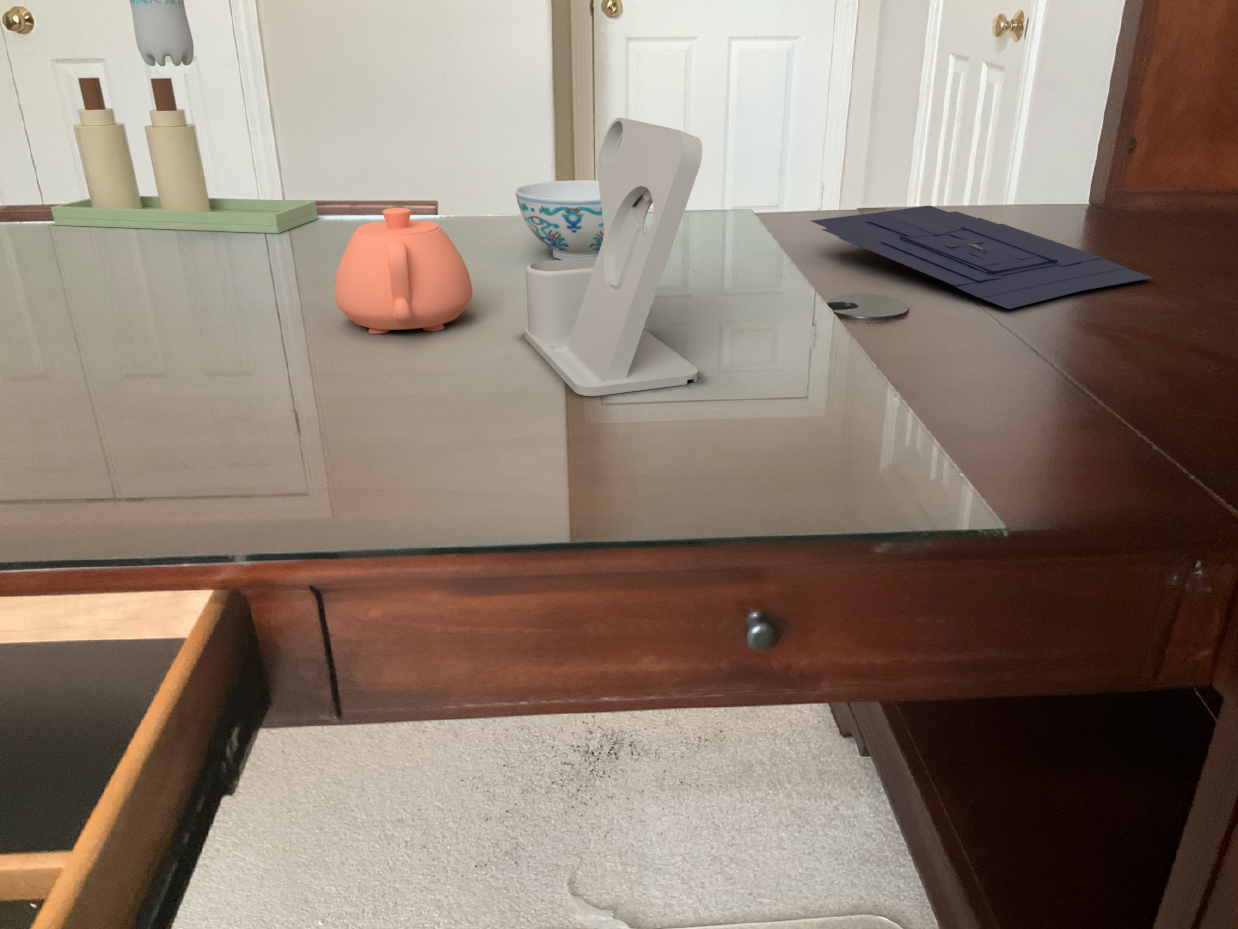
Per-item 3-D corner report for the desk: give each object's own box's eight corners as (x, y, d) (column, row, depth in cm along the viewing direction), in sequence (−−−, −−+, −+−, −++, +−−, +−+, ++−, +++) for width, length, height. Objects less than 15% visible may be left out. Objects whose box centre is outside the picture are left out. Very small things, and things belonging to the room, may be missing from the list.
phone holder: (520, 333, 83) (510, 117, 75) (627, 322, 86) (627, 114, 78) (580, 397, 68) (575, 138, 60) (706, 381, 71) (716, 132, 63)
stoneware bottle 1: (86, 212, 134) (54, 77, 126) (131, 207, 138) (102, 76, 131) (105, 217, 130) (73, 78, 122) (150, 211, 134) (122, 77, 127)
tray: (55, 225, 131) (50, 206, 130) (108, 211, 141) (105, 194, 140) (278, 233, 125) (275, 214, 124) (318, 218, 135) (315, 201, 134)
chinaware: (543, 274, 103) (540, 203, 100) (502, 248, 115) (499, 184, 112) (664, 262, 108) (665, 194, 105) (612, 238, 121) (612, 177, 118)
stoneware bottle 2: (154, 215, 132) (126, 78, 124) (197, 209, 136) (173, 76, 129) (175, 220, 128) (147, 79, 121) (219, 214, 133) (195, 77, 125)
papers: (934, 224, 122) (941, 197, 120) (1145, 301, 101) (1157, 269, 99) (793, 245, 111) (798, 214, 109) (998, 336, 89) (1009, 300, 87)
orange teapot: (472, 301, 92) (465, 196, 88) (477, 343, 80) (469, 222, 76) (345, 307, 91) (331, 199, 86) (330, 351, 78) (313, 227, 74)
